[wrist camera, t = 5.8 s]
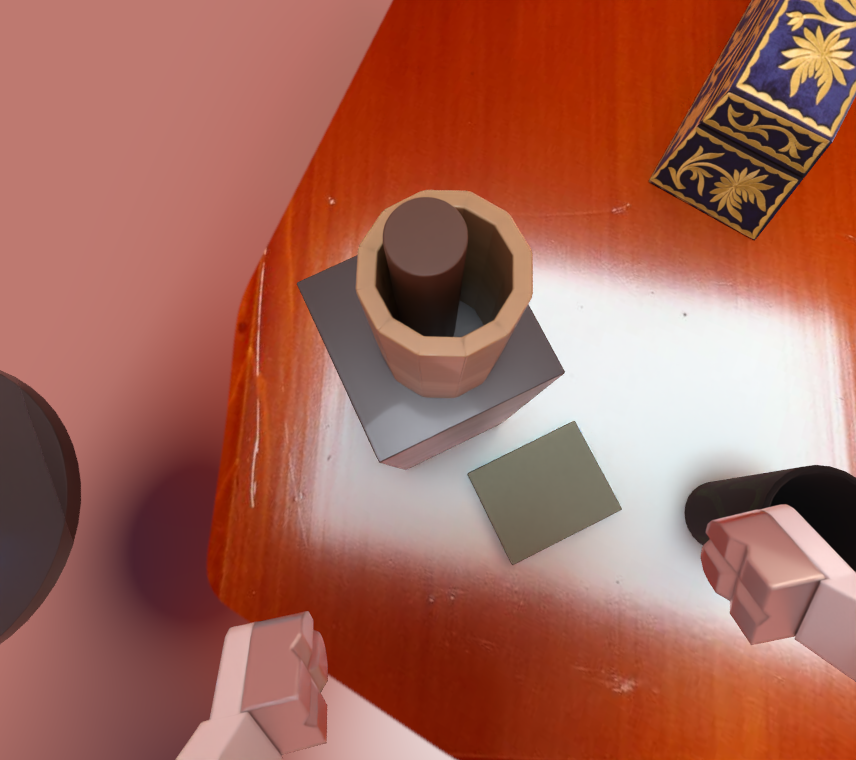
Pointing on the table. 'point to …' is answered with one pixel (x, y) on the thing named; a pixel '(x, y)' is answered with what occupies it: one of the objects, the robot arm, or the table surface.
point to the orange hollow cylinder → (481, 289)
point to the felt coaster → (544, 492)
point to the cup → (784, 502)
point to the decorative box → (764, 111)
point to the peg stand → (429, 316)
